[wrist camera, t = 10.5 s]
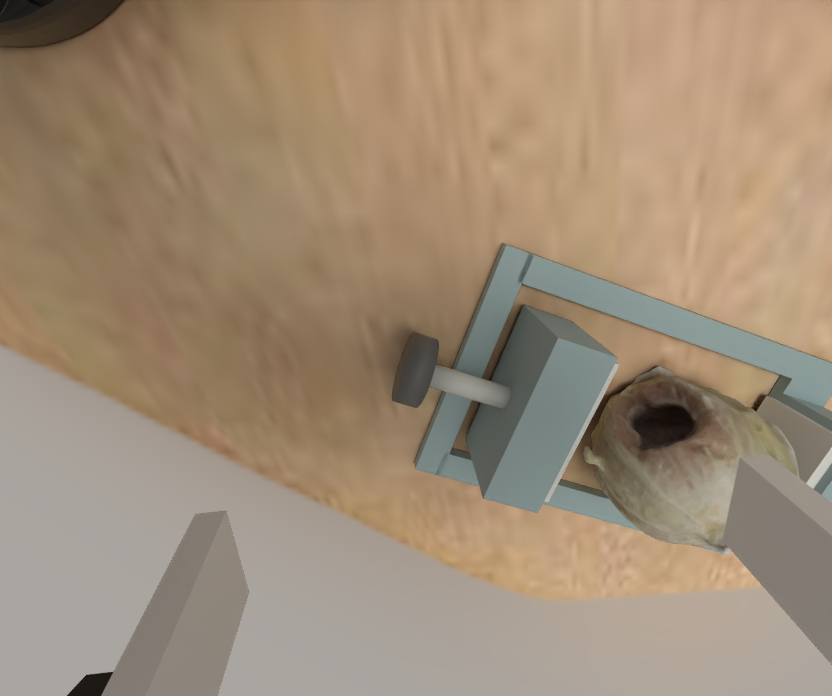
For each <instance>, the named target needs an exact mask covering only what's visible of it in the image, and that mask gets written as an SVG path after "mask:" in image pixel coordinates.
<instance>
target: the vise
mask: <svg viewBox="0 0 832 696" xmlns="http://www.w3.org/2000/svg"><path fill="white" fill-rule="evenodd" d="M522 284H525V285H527V286H530V287H533V288H536V289H539V290H542V291H544V292H547V293H550V294H553V295H556V296H559V297H561V298H564V299H567V300H570V301H573V302H576V303H579V304H581V305H584V306H587V307H590V308H593V309H596V310H598V311H601V312H604V313H607V314H610V315H613V316H615V317H618V318H621V319H624V320H627V321H630V322H633V323H635V324H638V325H641V326H644V327H647V328H650V329H652V330H655V331H658V332H661V333H664V334H667V335H669V336H672V337H675V338H678V339H681V340H684V341H687V342H689V343H692V344H695V345H698V346H701V347H704V348H706V349H709V350H712V351H715V352H718V353H721V354H723V355H726V356H729V357H732V358H735V359H738V360H741V361H743V362H746V363H749V364H752V365H755V366H758V367H760V368H763V369H766V370H769V371H772V372H775V373H777V374H780V375H781V376H780V378H779V379H778V381H777V383H776V384H775V386H774V387H773V389H772V390H771V392H770V394H769V395H768V396H766V397H765V399H764V400H763V402H762V404H761V405H760V407H759V408H758V410H757V411H756V412H757V413H758V414H759V415H760V417H761V418H762V419H763V420H764V421H767V422H770V423H773V424H775V425H776V426H778V427H779V429H780V430H781V431H782V432H783V433H784V435H785V437H786V438H787V440H788V441H789V443H790V445H791V446H792V448H793V450H794V452H795V458H796V460H797V465H798V471H799V476H800V479H801V480H802V481H804V482H805V483H806V484H807V485H809V486H810V487H811V488H813V489H814V490H815V491H816V492H818V493H819V494H820V495H822V496H823V497H824V498H825V499H827V500H828V501H829V502H830V503H832V412H831V411H829V410H828V409H826V408H824V406H825V404H826V403H827V401H828V400H829V398H830V397H831V395H832V363H831V362H828V361H826V360H823V359H820V358H817V357H815V356H812V355H809V354H806V353H804V352H801V351H798V350H795V349H793V348H790V347H787V346H784V345H782V344H779V343H776V342H773V341H771V340H768V339H765V338H762V337H760V336H757V335H754V334H751V333H749V332H746V331H743V330H741V329H738V328H735V327H732V326H730V325H727V324H724V323H721V322H719V321H716V320H713V319H710V318H708V317H705V316H702V315H699V314H697V313H694V312H691V311H688V310H686V309H683V308H680V307H677V306H675V305H672V304H669V303H666V302H664V301H661V300H658V299H655V298H653V297H650V296H647V295H644V294H642V293H639V292H636V291H633V290H631V289H628V288H625V287H622V286H620V285H617V284H614V283H611V282H609V281H606V280H603V279H600V278H598V277H595V276H592V275H589V274H587V273H584V272H581V271H578V270H576V269H573V268H570V267H567V266H565V265H562V264H559V263H556V262H554V261H551V260H548V259H545V258H543V257H540V256H537V255H535V254H532V253H529V252H526V251H524V250H521V249H518V248H515V247H513V246H510V245H507V244H504V243H503V244H502V247H501V249H500V251H499V254H498V256H497V259H496V261H495V264H494V266H493V269H492V271H491V274H490V276H489V279H488V281H487V284H486V286H485V289H484V291H483V294H482V296H481V299H480V301H479V303H478V306H477V308H476V311H475V313H474V316H473V318H472V321H471V323H470V326H469V328H468V331H467V333H466V336H465V338H464V341H463V343H462V346H461V348H460V351H459V353H458V356H457V358H456V360H455V363H454V365H453V368H452V369H453V370H457V371H460V372H463V373H466V374H469V375H473V376H476V377H479V378H482V376H483V374H484V371H485V369H486V367H487V364H488V362H489V360H490V357H491V355H492V353H493V350H494V348H495V346H496V343H497V341H498V339H499V336H500V334H501V332H502V329H503V327H504V325H505V322H506V320H507V317H508V315H509V313H510V310H511V308H512V306H513V303H514V301H515V299H516V296H517V294H518V292H519V289H520V287H521V285H522ZM471 402H472V400H471V399H468V398H464V397H461V396H458V395H454V394H451V393H448V392H445V391H443V393H442V395H441V398H440V400H439V403H438V405H437V408H436V410H435V412H434V415H433V417H432V420H431V422H430V425H429V427H428V430H427V432H426V435H425V437H424V440H423V442H422V445H421V447H420V450H419V452H418V455H417V457H416V460H415V469H417V470H421V471H424V472H428V473H432V474H435V475H439V476H443V477H446V478H450V479H454V480H457V481H461V482H465V483H468V484H472V485H476V486H479V483H478V479H477V476H476V472H475V469H474V466H473V462H472V459H471V455H470V453H467V452H463V451H460V450H456V449H453V448H452V446H453V444H454V442H455V439H456V437H457V435H458V432H459V430H460V428H461V425H462V423H463V420H464V418H465V416H466V413H467V411H468V409H469V406H470V404H471ZM479 487H480V486H479ZM543 504H545V505H549V506H552V507H556V508H560V509H563V510H567V511H571V512H574V513H578V514H581V515H585V516H589V517H592V518H596V519H600V520H603V521H607V522H611V523H614V524H618V525H622V526H625V527H629V528H633V529H636V530H640V529H639V528H637V527H636V526H635V525H633V524H632V523H631V522H630V521H628V520H627V519H626V518H625V517H624V516H623V515H622V514H621V513H620V512H619V510H618V509H617V508H616V507H615V506H614V504H613V503H612V502H611V501H610V499H609V498H608V497H607V495H605V493H604V492H603V491H600V490H597V489H593V488H590V487H586V486H583V485H579V484H576V483H572V482H569V481H565V480H561V479H560V481H559V483H558V485H557V486H556V488H555V490H554V492H553V494H552V496H551V498H550V500H549V502H545V501H544V503H543ZM640 531H641V530H640ZM704 548H706V549H709V550H713V551H717V550H716V549H715V548H714V547H704ZM717 552H718V551H717Z"/></svg>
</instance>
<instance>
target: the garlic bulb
mask: <svg viewBox="0 0 832 696" xmlns="http://www.w3.org/2000/svg"><path fill="white" fill-rule="evenodd" d="M591 439H592V442H593V444H592V450H591V449H590V448H589V447H588V446H585V448H584V451H583V456H584V459H585V461H586V462H587V463H589V464H595V474H596V477H597V479H598V481H599V484H600V486H601V488H602V490H603V492H604V493H605V495H607V497H608V498H609V499H610V501H611V502H612V503H613V504H614V506H615V507H616V508H617V509H618V510H619V512H620V513H621V514H622V515H623V516H624V517H625V518H626V519H627V520H628V521H630V522H631V523H632V524H633V525H635V526H636V527H637V528H639V529H640V530H641V531H643V532H644V533H646V534H647V535H649V536H651V537H653V538H655V539H657V540H660V541H664V542H668V543H674V544H687V545H692V546H696V547H702V548H704V547H714V548H715V549H716V550H717V551H718V552H720V553H721V554H728V553H730V552H731V551H732V550H731V549H730V548H729V547H728V546H727V545H726V544H725V542H724V541H723V535H724V531H725V526H726V521H727V516H728V512H729V507H730V502H731V497H732V492H733V488H734V483H735V478H736V473H737V469H738V464H739V459H740V457H748V456H757V455H767V454H769V455H770V456H772V457H773V458H774V459H775V460H777V461H778V462H779V463H781V464H782V465H783V466H784V467H786V468H787V469H788V470H790V471H791V472H792V473H793V474H795V475H796V476H797V477H798V478H800V476H799V471H798V465H797V460H796V458H795V452H794V450H793V448H792V446H791V445H790V443H789V441H788V440H787V438H786V437H785V435H784V433H783V432H782V431H781V430H780V429H779V427H778V426H776V425H775V424H773V423H770V422H767V421H764V420H763V419H762V418H761V417H760V415H759V414H758V413H757V412H756V411H754V410H753V409H752V408H749V407H745V406H744V405H743V404H742V403H740V402H739V401H737V400H736V399H733V398H731V397H728V396H725V395H723V394H721V393H720V392H719V391H717V390H714V389H711V388H704V387H698V386H696V385H695V384H693V383H691V382H688V381H685V380H683V379H681V378H679V377H677V376H674V375H673V373H672V372H671V371H669V370H667V369H665V368H663V367H660V366H658V367H656V368H654V369H653V370H651V371H650V372H647V373H644V374H641V375H639V376H637V377H636V379H635V381H634V382H633V383H632V384H631V385H630V386H628V387H626V388H625V389H624V390H623V391H622V392H620V393H618V394H616V395H613V396H611V397H610V399H609V400H608V402H607V404H606V406H605V408H604V410H603V412H602V414H601V416H600V419H599V423H598V425H597V426H596V427H595V429H594V430H593V432H592V434H591Z"/></svg>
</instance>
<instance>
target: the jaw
mask: <svg viewBox="0 0 832 696" xmlns="http://www.w3.org/2000/svg"><path fill="white" fill-rule="evenodd" d="M438 350H439V343H438V340H437V339H434V338H431V337H428V336H425V335H422V334H419V333H416V332H413V333H412V334H411V336H410V337H409V339H408V341H407V344H406V346H405V348H404V351H403V353H402V356H401V359H400V362H399V365H398V369H397V372H396V376H395V380H394V385H393V390H392V401H394V402H398V403H401V404H405V405H408V406H411V407H415V408H417V407H419V406H420V404H421V403H422V401H423V399H424V397H425V395H426V393H427V391H428V388H429V387H431V388H435V389H438V390H441V391H445V392H448V393H451V394H454V395H458V396H461V397H464V398H468V399H471V400H474V401H477V402H481V404H480V406H479V409H478V411H477V413H476V416H475V418H474V420H473V423H472V425H471V427H470V429H469V432H468V434H467V436H466V442H467V445H468V449H469V452H470V455H471V459H472V462H473V466H474V469H475V472H476V476H477V479H478V483H479V486H480V489H481V493H482V496H483V499H487V500H491V501H494V502H498V503H502V504H505V505H509V506H513V507H517V508H520V509H524V510H528V511H531V512H535V513H538V512H539V510H540V508H541V506H542V505H543V503H544V501H545V502H549V500H550V498H551V496H552V494H553V492H554V490H555V488H556V486H557V485H558V483H559V481H560V479H561V477H562V475H563V473H564V471H565V469H566V467H567V465H568V463H569V461H570V460H571V458H572V456H573V454H574V452H575V450H576V448H577V446H578V444H579V442H580V440H581V438H582V436H583V435H584V433H585V431H586V429H587V427H588V425H589V423H590V421H591V419H592V417H593V415H594V413H595V411H596V409H597V408H598V406H599V404H600V402H601V400H602V398H603V396H604V394H605V392H606V390H607V388H608V386H609V384H610V383H611V381H612V379H613V377H614V375H615V373H616V371H617V369H618V367H619V364H618V363H617V362H616V361H617V359H618V358H617V357H616V356H615V355H614V354H612V353H611V352H610V351H609V350H607V349H606V348H605V347H604V346H602V345H601V344H600V343H599V342H597V341H596V340H595V339H594V338H592V337H591V336H590V335H589V334H587V333H586V332H585V331H583V330H582V329H581V328H580V327H578V326H577V325H576V324H575V323H573V322H572V321H569V320H566V319H564V318H561V317H558V316H555V315H552V314H549V313H546V312H543V311H540V310H537V309H535V308H532V307H529V306H526V305H523V307H522V310H521V312H520V314H519V317H518V319H517V321H516V323H515V326H514V328H513V330H512V333H511V335H510V337H509V340H508V342H507V344H506V347H505V349H504V351H503V353H502V356H501V358H500V360H499V363H498V365H497V367H496V370H495V372H494V374H493V376H492V379H491V381H489V380H485V379H482V378H479V377H476V376H473V375H469V374H466V373H463V372H460V371H457V370H453V369H450V368H447V367H444V366H441V365H437V364H436V362H437V357H438Z"/></svg>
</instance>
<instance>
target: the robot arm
mask: <svg viewBox="0 0 832 696" xmlns="http://www.w3.org/2000/svg"><path fill="white" fill-rule="evenodd" d="M121 1H122V0H0V46H8V47H29V46H39V45H45V44H50V43H54V42H58V41H62V40H65V39H67V38H70V37H73V36H75V35H77V34H79V33H82V32H83V31H85V30H87V29H89V28H90V27H92V26H94V25H95V24H97V23H98V22H99V21H101V20H102V19H103V18H105V17H106V16H107V15H108V14H109V13H110V12H111V11H113V10H114V9H115V7H116V6H117V5H118V4H119V3H120V2H121ZM723 541H724V542H725V544H726V545H727V546H728V547H729V548H730V549H731V550H732V552H733V553H734V554H735V555H736V556H737V557H738V558H739V560H740V561H741V562H742V563H743V564H744V565H745V566H746V568H747V569H748V570H749V571H750V572H751V573H752V574H753V576H754V577H755V578H756V579H757V580H758V581H759V582H760V584H761V585H762V586H763V587H764V588H765V589H766V590H767V591H768V593H769V594H770V595H771V596H772V597H773V598H774V599H775V601H776V602H777V603H778V604H779V605H780V606H781V607H782V609H783V610H784V611H785V612H786V613H787V614H788V615H789V616H790V618H791V619H792V620H793V621H794V622H795V623H796V625H797V626H798V627H799V628H800V629H801V630H802V631H803V632H804V634H805V635H806V636H807V637H808V638H809V639H810V641H811V642H812V643H813V644H814V645H815V646H816V647H817V649H818V650H819V651H820V652H821V653H822V654H823V655H824V657H825V658H826V659H827V660H828V661H829V662H830V663H831V665H832V503H830V502H829V501H828V500H827V499H825V498H824V497H823V496H822V495H820V494H819V493H818V492H816V491H815V490H814V489H813V488H811V487H810V486H809V485H807V484H806V483H805V482H804V481H802V480H801V479H800V478H798V477H797V476H796V475H795V474H793V473H792V472H791V471H790V470H788V469H787V468H786V467H784V466H783V465H782V464H781V463H779V462H778V461H777V460H775V459H774V458H773V457H772V456H770V455H769V454H767V455H757V456H748V457H740V459H739V464H738V469H737V473H736V478H735V483H734V488H733V492H732V497H731V502H730V507H729V512H728V516H727V521H726V526H725V531H724V535H723ZM248 594H249V590H248V586H247V583H246V579H245V575H244V572H243V569H242V565H241V561H240V558H239V554H238V550H237V547H236V543H235V540H234V536H233V533H232V529H231V526H230V522H229V519H228V515H227V511H219V512H209V513H200V514H195V516H194V517H193V520H192V521H191V523H190V525H189V527H188V529H187V531H186V533H185V535H184V537H183V539H182V541H181V543H180V545H179V546H178V548H177V550H176V552H175V554H174V556H173V558H172V560H171V562H170V564H169V566H168V568H167V570H166V572H165V574H164V576H163V578H162V579H161V581H160V583H159V585H158V587H157V589H156V591H155V593H154V595H153V597H152V599H151V601H150V602H149V604H148V606H147V608H146V611H145V612H144V614H143V616H142V618H141V620H140V622H139V624H138V626H137V628H136V630H135V632H134V633H133V635H132V637H131V639H130V641H129V643H128V645H127V647H126V649H125V651H124V653H123V655H122V657H121V659H120V660H119V662H118V664H117V666H116V669H115V670H114V672H108V673H100V674H90V675H86V676H85V677H84V678H83V679H82V680H81V681H80V682H79V684H77V686H76V687H75V688H74V689H73V690H72V691H71V692H70V693H69V694H68V695H67V696H218V693H219V689H220V686H221V683H222V680H223V676H224V673H225V669H226V666H227V663H228V660H229V656H230V653H231V650H232V647H233V643H234V640H235V636H236V633H237V630H238V627H239V623H240V620H241V617H242V614H243V610H244V607H245V604H246V601H247V597H248Z"/></svg>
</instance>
